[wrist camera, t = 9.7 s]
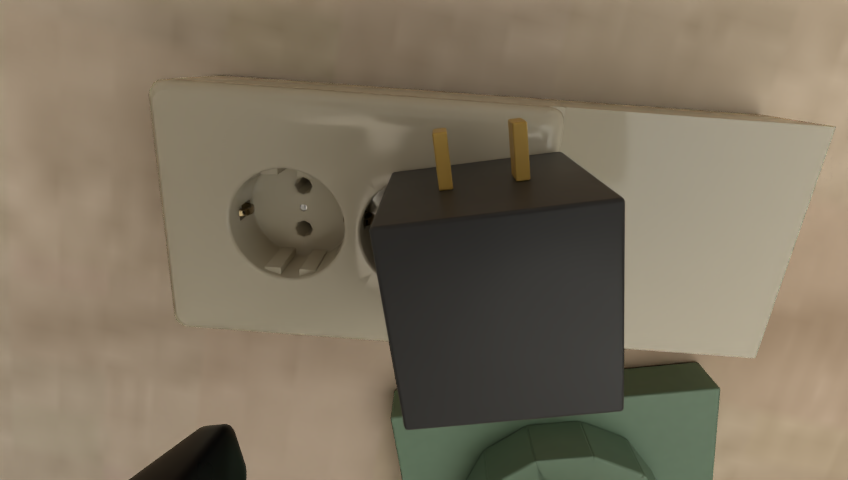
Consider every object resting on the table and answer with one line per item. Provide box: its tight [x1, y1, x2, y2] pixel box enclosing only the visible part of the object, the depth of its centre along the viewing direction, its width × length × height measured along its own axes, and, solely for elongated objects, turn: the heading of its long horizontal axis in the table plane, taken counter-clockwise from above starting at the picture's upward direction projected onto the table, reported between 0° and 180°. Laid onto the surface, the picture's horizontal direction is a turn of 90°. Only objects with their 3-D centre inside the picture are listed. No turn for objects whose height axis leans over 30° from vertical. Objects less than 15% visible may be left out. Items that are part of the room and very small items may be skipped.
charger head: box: [369, 118, 625, 430], centre depth 11 cm, size 4×6×5 cm
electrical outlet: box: [149, 75, 836, 358], centre depth 15 cm, size 7×4×18 cm
